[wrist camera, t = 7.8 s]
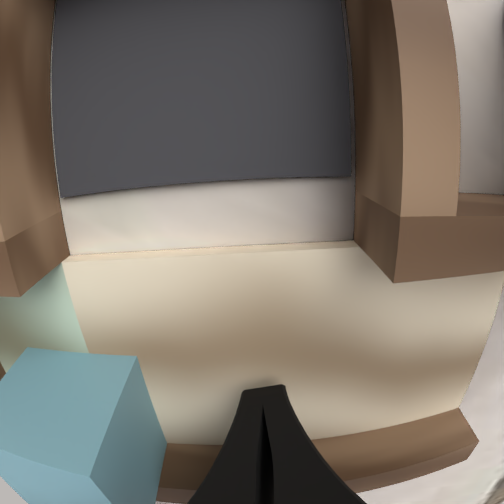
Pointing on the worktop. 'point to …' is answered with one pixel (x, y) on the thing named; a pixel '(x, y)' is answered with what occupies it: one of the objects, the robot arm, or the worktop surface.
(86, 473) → the block
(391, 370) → the wooden zigzag frame
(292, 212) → the worktop surface
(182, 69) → the pit mat
